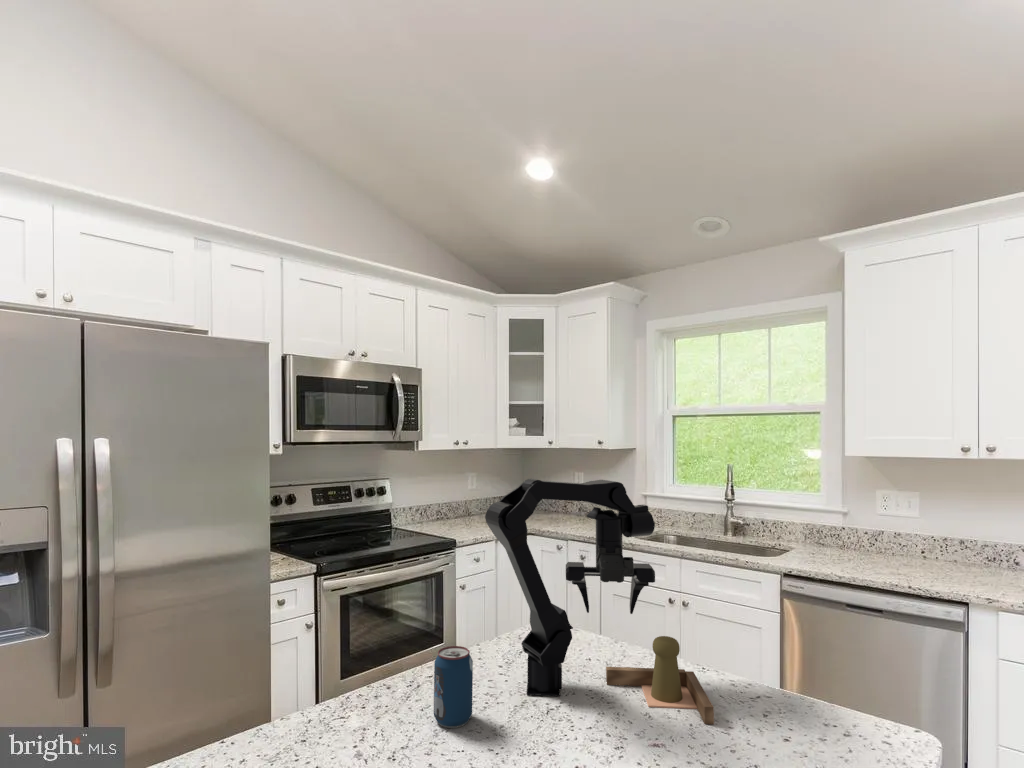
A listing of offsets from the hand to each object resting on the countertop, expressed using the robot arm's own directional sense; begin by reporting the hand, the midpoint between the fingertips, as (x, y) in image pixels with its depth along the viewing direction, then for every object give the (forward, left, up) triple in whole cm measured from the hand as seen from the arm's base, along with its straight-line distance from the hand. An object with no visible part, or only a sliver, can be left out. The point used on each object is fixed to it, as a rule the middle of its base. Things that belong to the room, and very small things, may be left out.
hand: (609, 612), depth 128 cm
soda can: (-30, -22, -13) cm, 39 cm away
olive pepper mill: (+10, -10, -13) cm, 19 cm away
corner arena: (+7, -11, -13) cm, 18 cm away
